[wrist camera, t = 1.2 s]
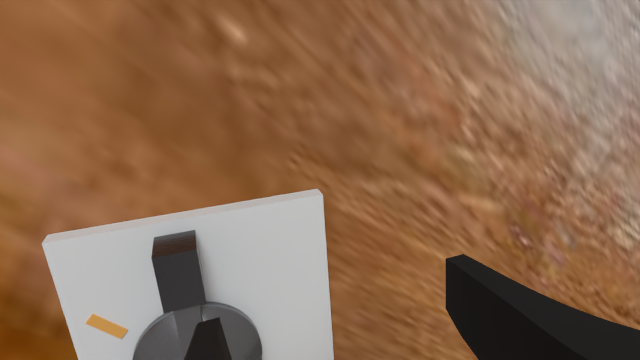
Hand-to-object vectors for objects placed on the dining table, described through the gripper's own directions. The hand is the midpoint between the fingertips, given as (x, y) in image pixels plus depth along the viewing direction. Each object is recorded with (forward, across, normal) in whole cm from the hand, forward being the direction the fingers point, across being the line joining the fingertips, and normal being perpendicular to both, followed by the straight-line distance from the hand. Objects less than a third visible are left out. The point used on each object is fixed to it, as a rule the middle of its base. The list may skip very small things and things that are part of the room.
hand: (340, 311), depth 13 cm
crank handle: (+10, +7, +7) cm, 14 cm away
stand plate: (+11, +6, +8) cm, 15 cm away
